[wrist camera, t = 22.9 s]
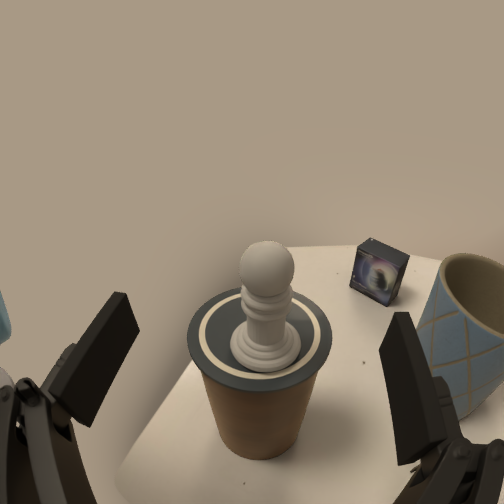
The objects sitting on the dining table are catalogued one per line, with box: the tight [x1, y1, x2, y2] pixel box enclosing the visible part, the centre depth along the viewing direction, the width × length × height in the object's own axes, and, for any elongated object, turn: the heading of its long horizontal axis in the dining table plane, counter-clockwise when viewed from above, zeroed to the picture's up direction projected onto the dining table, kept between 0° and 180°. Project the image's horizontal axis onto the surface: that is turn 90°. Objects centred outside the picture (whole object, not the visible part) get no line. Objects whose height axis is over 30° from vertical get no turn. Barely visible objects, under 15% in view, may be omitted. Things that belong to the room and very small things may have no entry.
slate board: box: [187, 287, 332, 394], centre depth 22 cm, size 12×12×1 cm
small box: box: [349, 238, 410, 307], centre depth 55 cm, size 11×6×10 cm, turn 41°
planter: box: [416, 253, 504, 420], centre depth 29 cm, size 19×19×20 cm
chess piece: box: [230, 241, 301, 372], centre depth 18 cm, size 5×5×9 cm
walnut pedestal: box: [201, 371, 318, 460], centre depth 27 cm, size 11×11×20 cm
